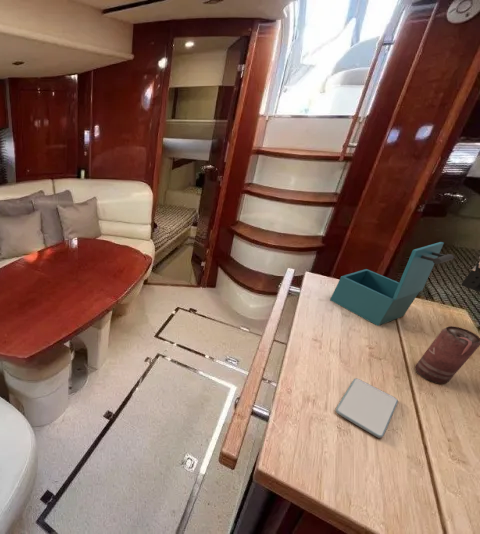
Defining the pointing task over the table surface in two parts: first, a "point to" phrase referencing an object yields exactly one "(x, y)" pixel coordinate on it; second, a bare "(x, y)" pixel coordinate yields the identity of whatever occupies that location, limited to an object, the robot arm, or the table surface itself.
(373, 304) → the box
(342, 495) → the table surface
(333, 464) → the table surface
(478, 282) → the robot arm
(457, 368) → the can
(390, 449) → the table surface
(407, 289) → the cooler lid
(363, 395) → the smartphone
